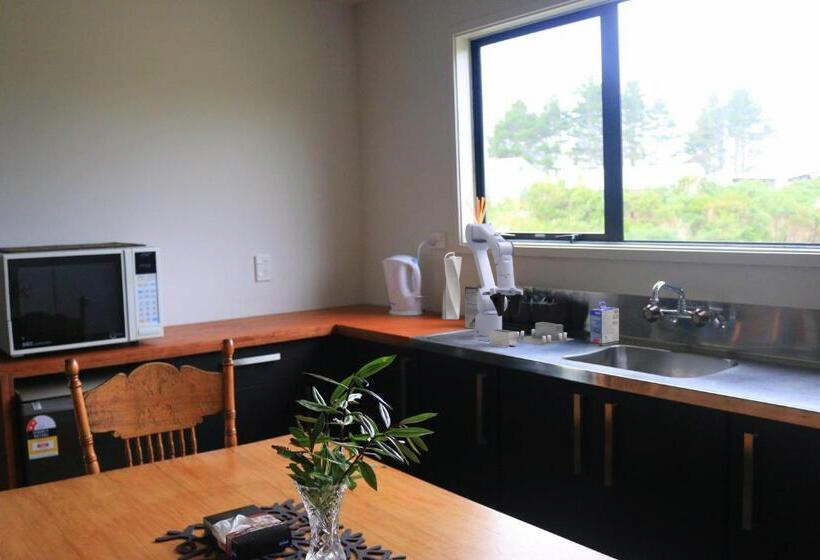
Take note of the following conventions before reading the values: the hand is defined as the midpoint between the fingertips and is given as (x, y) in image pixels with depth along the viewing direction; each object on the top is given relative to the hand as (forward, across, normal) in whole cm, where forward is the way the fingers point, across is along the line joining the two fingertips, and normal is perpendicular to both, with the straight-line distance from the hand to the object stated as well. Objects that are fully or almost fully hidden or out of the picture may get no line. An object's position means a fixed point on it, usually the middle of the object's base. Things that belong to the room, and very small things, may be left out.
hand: (508, 316), depth 267 cm
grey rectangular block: (+10, +1, +4) cm, 10 cm away
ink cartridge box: (+11, +29, -17) cm, 35 cm away
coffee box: (-1, +22, +37) cm, 43 cm away
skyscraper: (-7, +31, +60) cm, 68 cm away
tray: (+9, +15, -1) cm, 17 cm away
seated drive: (+7, +18, -1) cm, 20 cm away
